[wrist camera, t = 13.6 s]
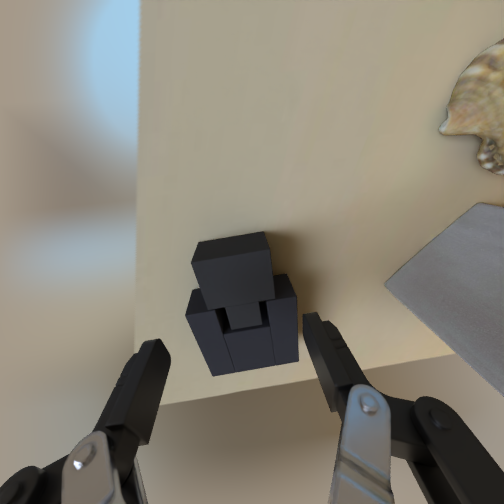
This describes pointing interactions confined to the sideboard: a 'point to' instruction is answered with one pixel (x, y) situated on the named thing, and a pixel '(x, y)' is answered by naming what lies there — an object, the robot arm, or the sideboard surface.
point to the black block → (235, 276)
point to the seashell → (481, 106)
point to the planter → (462, 289)
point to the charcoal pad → (247, 333)
